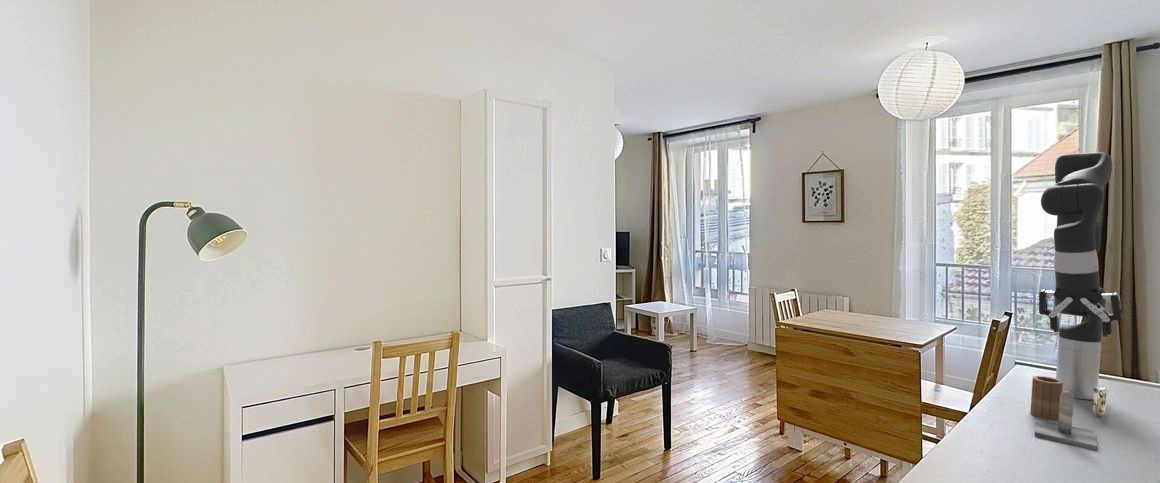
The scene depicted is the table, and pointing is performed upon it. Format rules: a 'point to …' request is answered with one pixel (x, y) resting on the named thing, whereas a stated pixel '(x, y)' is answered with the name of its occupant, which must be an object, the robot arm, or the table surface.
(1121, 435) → the table surface
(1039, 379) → the wooden slatted cup
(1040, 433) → the grey post stand
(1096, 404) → the ring
